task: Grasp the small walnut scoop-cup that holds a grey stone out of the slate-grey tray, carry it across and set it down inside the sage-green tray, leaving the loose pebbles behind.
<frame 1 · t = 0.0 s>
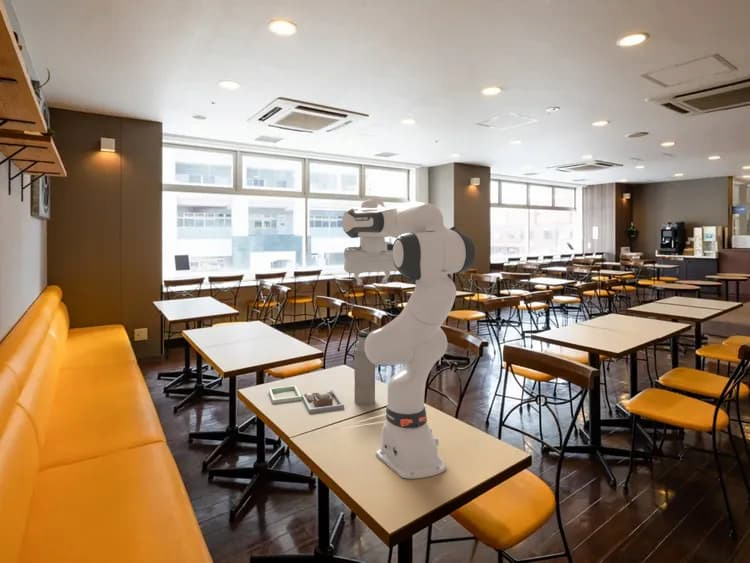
hand: (372, 284, 159), 48 cm above the table, fingers open, 8 cm apart
slate tray: (322, 405, 171), on the table
pebble a: (328, 398, 177), point 1 cm above the table, touching slate tray
scoop cup: (323, 405, 169), point 1 cm above the table, touching slate tray, stone
thermos bottle: (364, 404, 173), on the table
stone: (323, 404, 169), point 1 cm above the table, touching scoop cup
pebble b: (309, 400, 174), point 1 cm above the table, touching slate tray
green tray: (284, 398, 178), on the table
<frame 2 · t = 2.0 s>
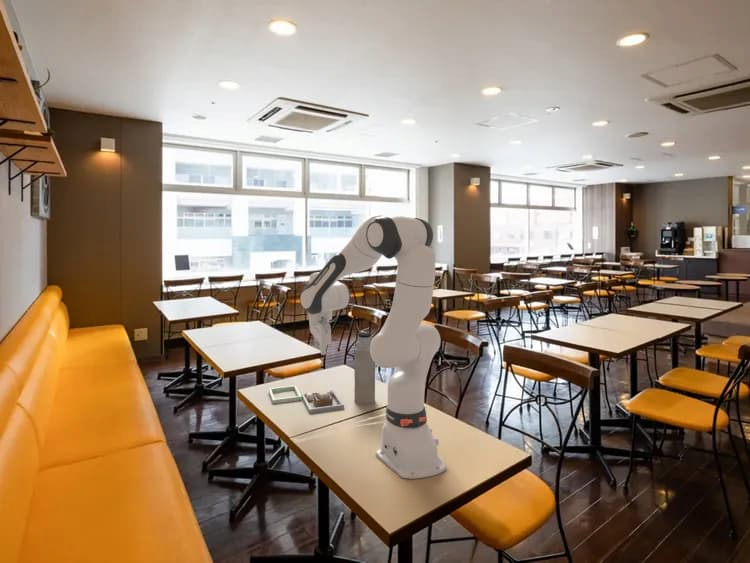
hand: (320, 350, 167), 22 cm above the table, fingers open, 8 cm apart
nothing on the table moved.
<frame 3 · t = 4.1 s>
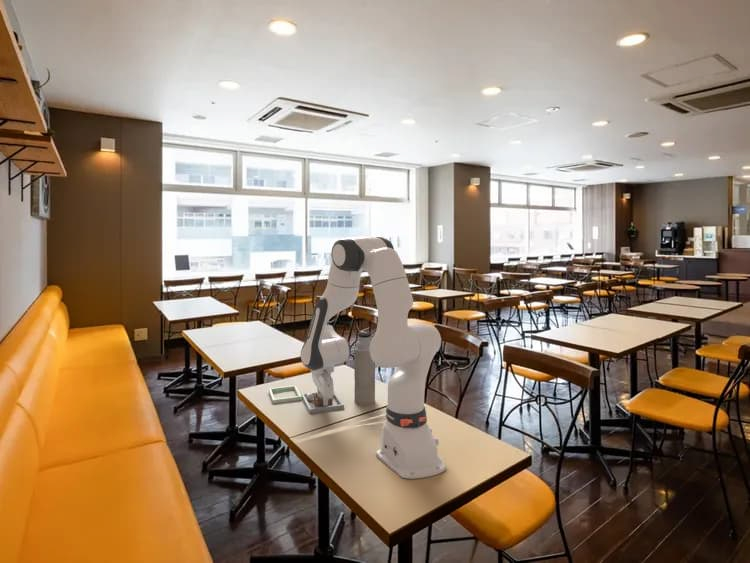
hand: (322, 401, 169), 2 cm above the table, fingers closed on scoop cup, 6 cm apart
scoop cup: (323, 405, 169), point 1 cm above the table, touching gripper, slate tray, stone
everything else where it was.
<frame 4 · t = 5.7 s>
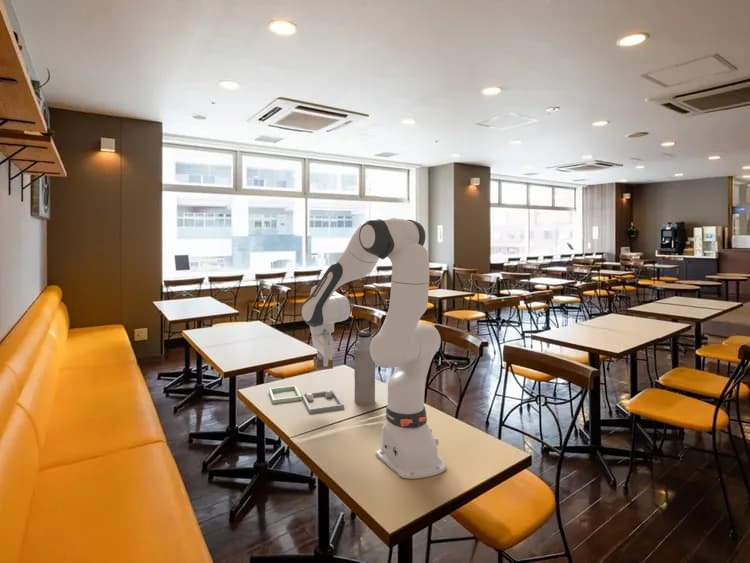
hand: (323, 363, 167), 17 cm above the table, fingers closed on scoop cup, 6 cm apart
scoop cup: (323, 367, 167), point 16 cm above the table, touching gripper, stone
stone: (323, 365, 167), point 16 cm above the table, touching scoop cup
everything else where it was.
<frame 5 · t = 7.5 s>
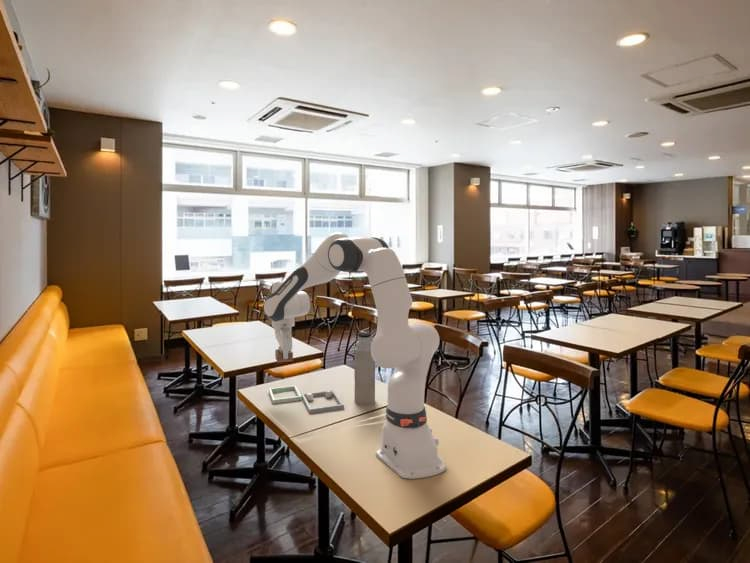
hand: (284, 355, 176), 18 cm above the table, fingers closed on scoop cup, 6 cm apart
scoop cup: (284, 359, 176), point 16 cm above the table, touching gripper, stone
stone: (284, 358, 176), point 17 cm above the table, touching scoop cup
everything else where it was.
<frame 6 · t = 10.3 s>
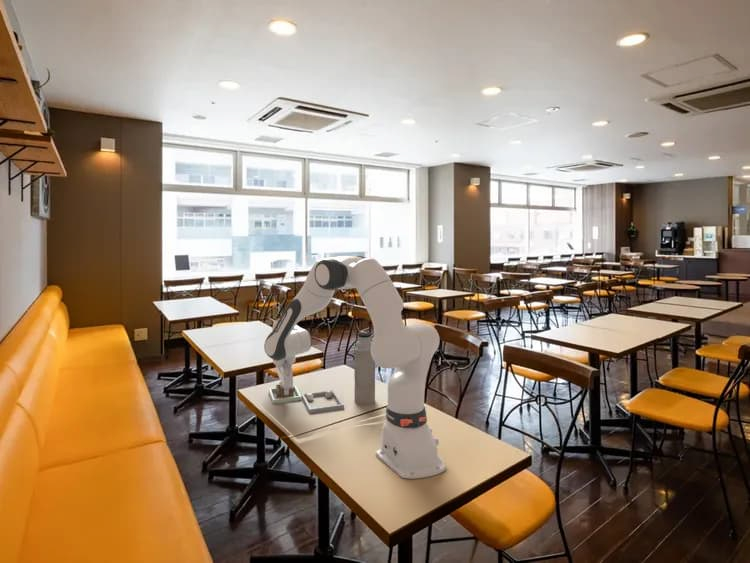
hand: (284, 391, 177), 3 cm above the table, fingers closed on scoop cup, 6 cm apart
scoop cup: (285, 394, 177), point 1 cm above the table, touching gripper, stone
stone: (285, 393, 177), point 2 cm above the table, touching scoop cup
everything else where it was.
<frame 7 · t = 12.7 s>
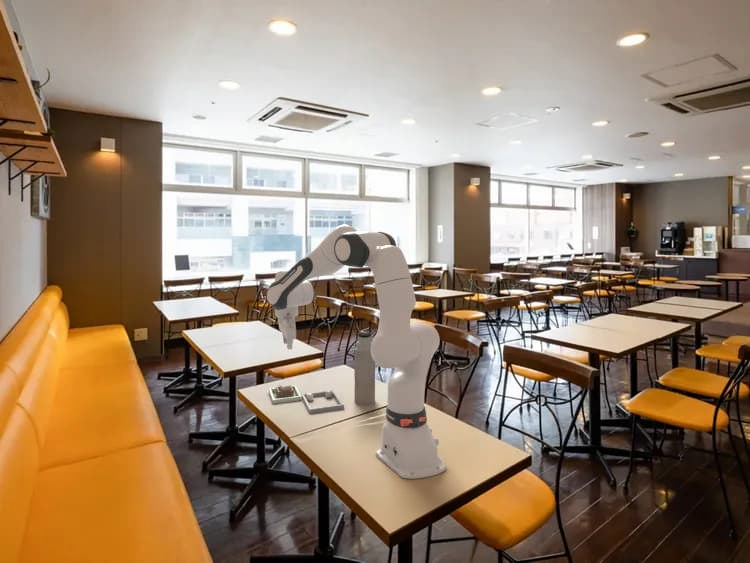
hand: (287, 346, 174), 22 cm above the table, fingers open, 8 cm apart
scoop cup: (285, 396, 178), point 1 cm above the table, touching green tray, stone
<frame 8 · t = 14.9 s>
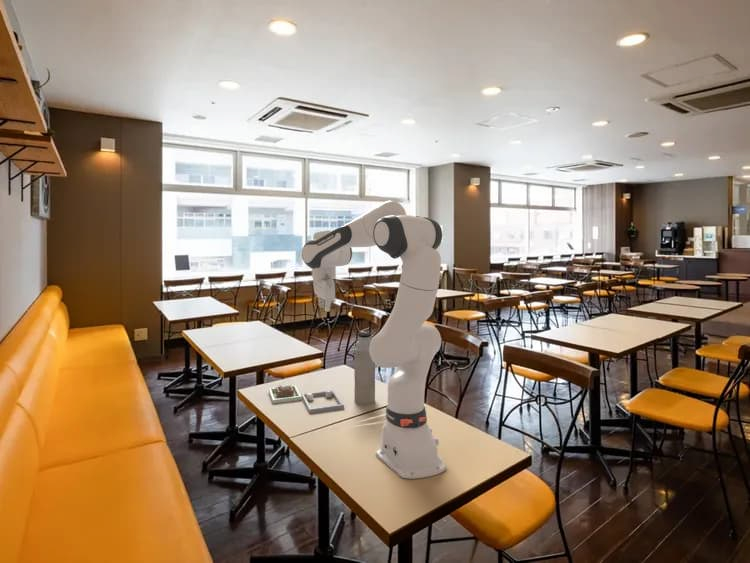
hand: (324, 309, 170), 37 cm above the table, fingers open, 8 cm apart
nothing on the table moved.
at the end: scoop cup inside the target area on the green tray (0.1 cm from its centre), point 0.6 cm above the green tray's base; stone 0.0 cm from the scoop cup (horizontally); the gripper is holding nothing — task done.
